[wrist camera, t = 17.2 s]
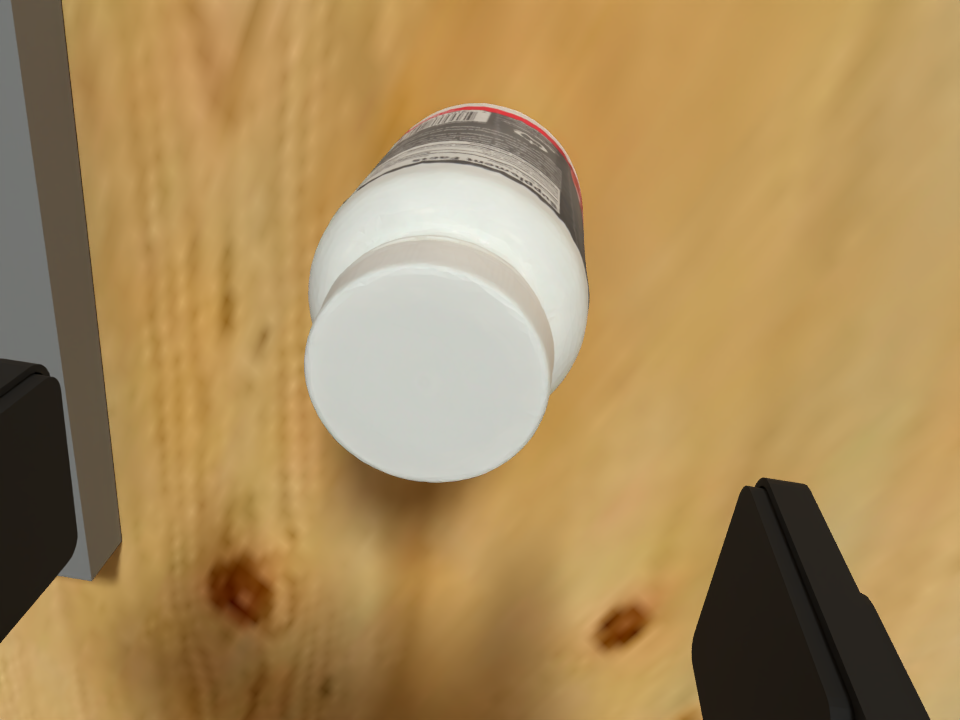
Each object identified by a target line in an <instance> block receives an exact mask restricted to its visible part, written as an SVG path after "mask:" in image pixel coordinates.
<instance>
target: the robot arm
mask: <svg viewBox="0 0 960 720" xmlns="http://www.w3.org/2000/svg"><path fill="white" fill-rule="evenodd" d="M77 539H78V532H77V523H76V514H75V506H74V497H73V488H72V480H71V471H70V462H69V454H68V445H67V436H66V428H65V419H64V411H63V402H62V393H61V387H60V383H59V381H58V380H57V379H56V378H55V377H51V376H50V373H49V371H48V370H47V368H46V367H45V366H43V365H42V364H36V363H29V362H23V361H17V360H10V359H4V358H0V643H1V642H2V640H3V639H4V638H5V637H6V636H7V635H8V633H9V632H10V631H11V630H12V629H13V627H14V626H15V625H16V624H17V623H18V621H19V620H20V619H21V618H22V617H23V616H24V614H25V613H26V612H27V611H28V610H29V608H30V607H31V606H32V605H33V604H34V602H35V601H36V600H37V599H38V598H39V597H40V595H41V594H42V593H43V592H44V591H45V589H46V588H47V587H48V586H49V585H50V583H51V582H52V581H53V580H54V579H55V578H56V576H57V575H58V574H59V573H60V572H61V570H62V569H63V568H64V567H65V566H66V565H67V563H68V562H69V561H70V559H71V558H72V556H73V554H74V551H75V548H76V545H77ZM692 664H693V669H694V675H695V680H696V685H697V690H698V696H699V701H700V706H701V711H702V716H703V720H930V718H929V716H928V714H927V712H926V710H925V708H924V706H923V704H922V702H921V700H920V698H919V696H918V694H917V692H916V690H915V688H914V686H913V684H912V682H911V680H910V678H909V676H908V674H907V672H906V670H905V668H904V666H903V664H902V662H901V660H900V658H899V656H898V654H897V652H896V650H895V648H894V646H893V644H892V642H891V640H890V638H889V636H888V634H887V632H886V629H885V627H884V625H883V623H882V621H881V619H880V617H879V615H878V613H877V611H876V609H875V607H874V606H873V604H872V603H871V601H870V600H869V598H868V597H867V596H865V595H864V594H862V593H860V591H859V589H858V587H857V585H856V583H855V581H854V579H853V577H852V575H851V573H850V571H849V569H848V567H847V565H846V563H845V561H844V559H843V556H842V554H841V552H840V550H839V548H838V546H837V544H836V542H835V540H834V538H833V536H832V534H831V532H830V530H829V528H828V526H827V524H826V522H825V519H824V517H823V515H822V513H821V511H820V509H819V507H818V505H817V503H816V501H815V499H814V497H813V495H812V493H811V491H810V489H809V488H808V486H807V485H805V484H801V483H795V482H789V481H782V480H776V479H769V478H761V479H759V481H758V482H757V483H756V485H755V487H751V486H745V487H743V489H742V490H741V492H740V495H739V498H738V501H737V504H736V507H735V510H734V513H733V516H732V519H731V522H730V525H729V528H728V531H727V534H726V538H725V541H724V544H723V547H722V550H721V553H720V556H719V559H718V562H717V565H716V568H715V571H714V574H713V578H712V581H711V584H710V587H709V590H708V593H707V596H706V599H705V602H704V605H703V608H702V611H701V614H700V618H699V621H698V624H697V627H696V630H695V633H694V637H693V643H692Z"/></svg>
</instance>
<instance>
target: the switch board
mask: <svg viewBox="0 0 960 720" xmlns="http://www.w3.org/2000/svg"><path fill="white" fill-rule="evenodd" d="M0 358H4V359H10V360H17V361H23V362H29V363H36V364H42V365H43V366H45V367H46V368H47V370H48V371H49V373H50V376H51V377H55V378H56V379H57V380H58V381H59V383H60V387H61V393H62V402H63V411H64V419H65V428H66V436H67V445H68V454H69V462H70V471H71V480H72V488H73V497H74V506H75V514H76V523H77V532H78V539H77V545H76V548H75V551H74V554H73V556H72V558H71V559H70V561H69V562H68V563H67V565H66V566H65V567H64V568H63V569H62V570H61V572H60V573H59V574H58V576H64V577H70V578H76V579H82V580H88V581H92V580H93V579H94V577H95V576H96V575H97V573H98V572H99V571H100V569H101V568H102V567H103V565H104V564H105V563H106V561H107V560H108V559H109V557H110V556H111V555H112V553H113V552H114V551H115V549H116V548H117V547H118V545H119V544H120V543H121V541H122V539H121V530H120V521H119V512H118V503H117V495H116V486H115V477H114V468H113V459H112V450H111V441H110V432H109V423H108V415H107V406H106V397H105V388H104V379H103V370H102V361H101V352H100V343H99V335H98V326H97V317H96V308H95V299H94V290H93V281H92V272H91V264H90V255H89V246H88V237H87V228H86V219H85V210H84V201H83V192H82V184H81V175H80V166H79V157H78V148H77V139H76V130H75V121H74V112H73V104H72V95H71V86H70V77H69V68H68V59H67V50H66V41H65V32H64V24H63V15H62V6H61V0H0Z"/></svg>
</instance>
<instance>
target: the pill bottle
mask: <svg viewBox="0 0 960 720" xmlns="http://www.w3.org/2000/svg"><path fill="white" fill-rule="evenodd" d="M308 296H309V307H310V314H311V319H312V324H313V325H312V327H311V329H310V333H309V336H308V340H307V344H306V349H305V359H304V372H305V379H306V385H307V389H308V392H309V396H310V399H311V402H312V404H313V406H314V408H315V410H316V412H317V414H318V416H319V418H320V420H321V421H322V423H323V424H324V426H325V427H326V428H327V430H328V431H329V433H330V434H331V435H332V436H333V437H334V439H335V440H336V441H337V442H338V443H339V444H341V445H342V446H343V447H344V448H345V449H346V450H347V451H348V452H350V453H351V454H352V455H354V456H355V457H357V458H358V459H359V460H361V461H362V462H364V463H366V464H368V465H370V466H371V467H374V468H376V469H378V470H380V471H383V472H385V473H387V474H390V475H392V476H396V477H399V478H403V479H407V480H413V481H419V482H430V483H441V482H453V481H460V480H464V479H470V478H474V477H477V476H480V475H482V474H485V473H487V472H489V471H491V470H493V469H495V468H497V467H499V466H501V465H502V464H504V463H505V462H507V461H509V460H510V459H511V458H512V457H514V456H515V455H516V454H517V453H518V452H519V451H520V450H521V449H522V448H523V447H524V446H525V445H526V444H527V442H528V441H529V440H530V439H531V438H532V436H533V435H534V433H535V432H536V430H537V428H538V426H539V424H540V422H541V420H542V418H543V416H544V413H545V410H546V408H547V404H548V399H549V395H550V394H551V393H552V392H553V391H554V390H555V389H556V388H557V387H558V386H559V384H560V383H561V382H562V381H563V380H564V378H565V377H566V375H567V374H568V372H569V371H570V369H571V367H572V365H573V363H574V361H575V360H576V358H577V356H578V353H579V350H580V348H581V345H582V341H583V338H584V334H585V329H586V323H587V315H588V309H589V286H588V279H587V271H586V262H585V250H584V230H583V206H582V198H581V191H580V185H579V181H578V177H577V174H576V172H575V169H574V167H573V165H572V162H571V160H570V158H569V156H568V155H567V153H566V151H565V150H564V148H563V147H562V146H561V144H560V143H559V142H558V141H557V140H556V139H555V138H554V137H553V135H552V134H551V133H550V132H549V131H548V130H546V129H545V128H544V127H542V126H541V125H540V124H538V123H537V122H536V121H534V120H533V119H531V118H529V117H528V116H527V115H524V114H522V113H520V112H518V111H516V110H513V109H509V108H506V107H502V106H497V105H492V104H486V103H469V104H462V105H456V106H452V107H448V108H445V109H442V110H440V111H437V112H435V113H433V114H431V115H430V116H428V117H426V118H425V119H423V120H422V121H420V122H419V123H417V124H416V125H414V126H413V127H412V128H411V129H410V130H409V131H408V132H407V133H406V134H405V135H403V136H402V137H401V138H400V139H399V140H398V141H397V142H396V143H395V144H394V146H393V147H392V148H391V149H390V151H389V152H388V153H387V154H386V155H385V156H384V158H383V159H382V160H381V161H380V162H379V163H378V165H377V166H376V167H375V168H374V169H373V170H372V172H371V173H370V174H369V175H368V176H367V177H366V179H365V180H364V181H363V182H362V183H361V184H360V186H359V187H358V188H357V189H356V190H355V192H354V193H353V194H352V195H351V196H350V197H349V198H348V199H347V200H346V201H345V202H344V203H343V205H342V206H341V207H340V208H339V209H338V211H337V212H336V213H335V215H334V216H333V218H332V219H331V221H330V223H329V225H328V227H327V228H326V230H325V232H324V234H323V236H322V237H321V239H320V242H319V244H318V247H317V249H316V252H315V255H314V259H313V262H312V266H311V271H310V278H309V291H308Z"/></svg>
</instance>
